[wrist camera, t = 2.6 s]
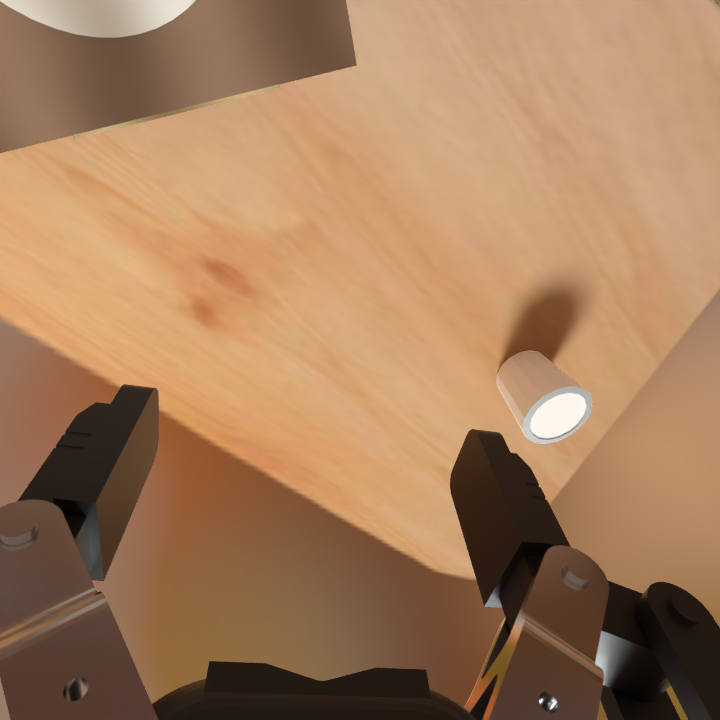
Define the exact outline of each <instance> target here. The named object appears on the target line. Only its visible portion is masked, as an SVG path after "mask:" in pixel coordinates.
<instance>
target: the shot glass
mask: <svg viewBox="0 0 720 720" xmlns="http://www.w3.org/2000/svg"><path fill="white" fill-rule="evenodd" d="M496 383H497V386H498V388H499V390H500V392H501V394H502V396H503V397H504V399H505V401H506V403H507V405H508V406H509V408H510V410H511V412H512V413H513V415H514V417H515V419H516V421H517V422H518V424H519V426H520V428H521V430H522V431H523V433H524V435H525V437H526V438H527V439H529V440H531V441H532V442H534V443H541V444H548V443H552V442H557V441H560V440H562V439H564V438H566V437H568V436H570V435H571V434H573V433H574V432H575V431H576V430H577V429H579V428H580V427H581V426H582V425H583V424H584V422H585V421H586V419H587V418H588V416H589V415H590V412H591V408H592V405H593V403H592V399H591V395H590V394H589V393H588V392H587V391H586V390H585V389H583V388H582V387H581V386H580V385H579V384H577V383H576V382H575V381H574V380H573V379H571V378H570V377H569V376H568V375H567V374H565V373H564V372H563V371H562V370H561V369H559V368H558V367H557V366H556V365H554V364H553V363H552V362H551V361H550V360H548V359H547V358H546V357H545V356H544V355H542V354H541V353H540V352H538V351H533V350H527V351H522V352H519V353H517V354H515V355H513V356H511V357H510V358H509V359H508V360H506V361H505V362H504V363H503V364H502V366H501V367H500V369H499V371H498V373H497V378H496Z"/></svg>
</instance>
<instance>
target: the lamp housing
mask: <svg viewBox="0 0 720 720" xmlns="http://www.w3.org/2000/svg"><path fill="white" fill-rule="evenodd" d="M352 66H356V59H355V53H354V47H353V41H352V34H351V28H350V22H349V16H348V10H347V4H346V0H0V153H2V152H6V151H11V150H15V149H19V148H23V147H27V146H31V145H35V144H39V143H43V142H47V141H51V140H55V139H59V138H63V137H67V136H71V135H72V136H73V138H74V139H76V138H81V137H85V136H89V135H93V134H97V133H101V132H105V131H109V130H113V129H117V128H121V127H125V126H129V125H133V124H137V123H141V122H145V121H149V120H153V119H157V118H162V117H166V116H170V115H174V114H178V113H182V112H186V111H190V110H194V109H198V108H202V107H206V106H210V105H214V104H218V103H222V102H226V101H230V100H234V99H238V98H243V97H247V96H251V95H255V94H259V93H263V92H267V91H271V90H275V89H279V88H280V85H279V84H283V83H287V82H291V81H295V80H299V79H303V78H307V77H311V76H315V75H319V74H323V73H327V72H331V71H335V70H339V69H343V68H347V67H352Z"/></svg>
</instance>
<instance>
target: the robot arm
mask: <svg viewBox="0 0 720 720" xmlns="http://www.w3.org/2000/svg"><path fill="white" fill-rule="evenodd" d="M715 2H716V4H718V5H719V6H720V0H715ZM158 438H159V401H158V390H157V389H156V388H150V387H142V386H134V385H126V384H124V385H123V386H122V387H121V388H120V390H119V391H118V393H117V394H116V396H115V398H114V400H113V401H112V403H111V404H105V403H95V404H93V405H91V406H90V407H88V408H87V409H85V410H84V411H82V412H81V413H79V414H78V415H77V416H76V417H75V418H74V420H73V422H72V423H71V424H70V426H69V427H68V429H67V430H66V433H65V435H63V436H62V437H61V439H60V440H59V442H58V443H57V446H56V448H54V449H53V450H52V452H51V453H50V455H49V456H48V458H47V459H46V461H45V462H44V464H43V465H42V466H41V468H40V469H39V471H38V472H37V474H36V475H35V477H34V478H33V480H32V481H31V482H30V484H29V485H28V487H27V488H26V490H25V491H24V493H23V494H22V496H21V497H20V498H19V500H18V501H17V502H14V503H10V504H7V505H5V506H2V507H1V508H0V678H1V683H2V687H3V691H4V695H5V699H6V703H7V707H8V711H9V715H10V720H597V716H598V710H599V704H600V700H601V703H602V705H603V708H604V710H605V713H606V716H607V718H608V720H680V718H679V716H678V714H677V712H676V709H675V707H674V705H673V704H672V702H671V699H670V697H669V695H668V694H667V691H666V690H667V689H668V688H669V687H670V686H672V688H673V690H674V692H675V694H676V696H677V698H678V700H679V702H680V704H681V706H682V708H683V710H684V712H685V714H686V716H687V718H688V720H720V628H719V626H718V625H717V623H716V622H715V620H714V618H713V617H712V615H711V614H710V613H709V611H708V610H707V609H706V608H705V607H704V606H703V604H702V603H700V602H699V601H698V600H697V599H696V598H695V597H694V596H692V595H691V594H690V593H688V592H687V591H685V590H683V589H682V588H680V587H678V586H676V585H673V584H670V583H666V582H656V583H653V584H652V585H650V587H649V588H648V589H647V590H646V591H645V593H644V594H642V593H639V592H637V591H634V590H631V589H629V588H626V587H623V586H621V585H618V584H615V583H612V582H610V581H608V580H607V578H606V576H605V574H604V573H603V571H602V570H601V568H600V567H599V566H598V565H597V564H596V563H595V562H594V561H593V560H592V559H591V558H590V557H588V556H587V555H586V554H584V553H583V552H581V551H579V550H577V549H574V548H572V547H570V545H569V543H568V541H567V539H566V537H565V535H564V533H563V531H562V529H561V527H560V525H559V523H558V521H557V519H556V517H555V515H554V513H553V511H552V509H551V507H550V505H549V503H548V501H547V500H545V495H544V493H543V491H542V489H541V487H539V483H538V482H537V480H536V478H535V476H534V474H533V472H532V470H531V468H530V467H529V466H528V465H527V464H526V463H525V462H524V461H523V460H522V459H521V458H520V457H519V456H518V455H517V454H515V453H510V451H509V449H508V447H507V445H506V442H505V440H504V438H503V436H502V435H501V434H500V433H498V432H491V431H483V430H475V429H472V430H470V431H469V432H468V434H467V436H466V439H465V441H464V443H463V446H462V448H461V450H460V453H459V455H458V458H457V460H456V462H455V465H454V467H453V470H452V473H451V479H450V490H451V495H452V498H453V502H454V505H455V508H456V512H457V515H458V519H459V522H460V525H461V529H462V532H463V535H464V539H465V542H466V546H467V549H468V552H469V556H470V559H471V563H472V566H473V569H474V573H475V576H476V579H477V583H478V586H479V590H480V593H481V596H482V600H483V603H484V606H485V607H501V608H503V611H504V614H505V618H504V620H503V622H502V624H501V625H500V627H499V630H498V632H497V635H496V637H495V639H494V642H493V644H492V647H491V649H490V652H489V654H488V657H487V659H486V661H485V663H484V666H483V668H482V671H481V673H480V675H479V678H478V680H477V683H476V685H475V688H474V690H473V692H472V694H471V696H470V698H469V700H468V702H467V703H466V705H465V707H464V708H463V707H462V706H461V705H459V704H458V703H457V702H455V701H453V700H452V699H450V698H449V697H447V696H445V695H443V694H441V693H439V692H437V691H435V690H433V689H430V688H429V684H428V679H427V673H426V670H420V669H394V668H373V669H369V670H365V671H361V672H358V673H354V674H350V675H346V676H342V677H339V678H335V679H331V680H327V681H318V680H315V679H311V678H308V677H305V676H302V675H299V674H296V673H293V672H290V671H287V670H284V669H281V668H278V667H275V666H272V665H268V664H266V663H241V662H239V663H238V662H215V661H210V662H209V667H208V672H207V677H206V679H204V680H200V681H196V682H193V683H190V684H188V685H185V686H183V687H180V688H178V689H176V690H174V691H172V692H170V693H168V694H166V695H165V696H163V697H162V698H160V699H159V700H157V701H156V702H154V703H153V704H152V703H151V701H150V699H149V696H148V694H147V692H146V690H145V687H144V685H143V683H142V680H141V678H140V676H139V673H138V671H137V669H136V667H135V664H134V662H133V659H132V657H131V655H130V653H129V650H128V648H127V646H126V643H125V641H124V639H123V636H122V634H121V632H120V630H119V627H118V625H117V623H116V620H115V618H114V616H113V613H112V611H111V609H110V606H109V604H108V602H107V600H106V598H105V596H104V595H103V593H102V592H98V593H97V591H96V590H95V588H94V585H93V583H92V581H91V580H98V581H104V579H105V577H106V575H107V572H108V570H109V567H110V565H111V562H112V560H113V558H114V555H115V553H116V551H117V548H118V546H119V543H120V541H121V539H122V536H123V534H124V532H125V529H126V527H127V524H128V522H129V520H130V517H131V515H132V512H133V510H134V508H135V505H136V503H137V500H138V498H139V496H140V493H141V491H142V488H143V486H144V484H145V481H146V479H147V476H148V474H149V472H150V469H151V467H152V465H153V462H154V459H155V455H156V452H157V447H158Z"/></svg>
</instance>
